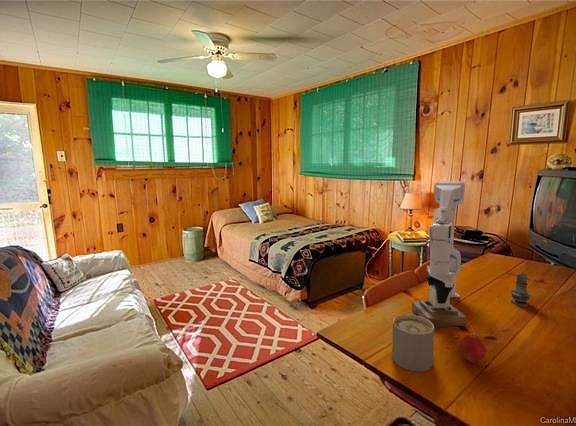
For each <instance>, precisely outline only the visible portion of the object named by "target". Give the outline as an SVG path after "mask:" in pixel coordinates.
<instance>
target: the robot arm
mask: <svg viewBox="0 0 576 426" xmlns="http://www.w3.org/2000/svg"><path fill="white" fill-rule="evenodd" d="M465 187H466V184H465V182H464V181H462V180H461V181H438V180H437V181H435V182H434V188H433V196H434V198H435V199H434V200H435V203H437V204H438V205H439V207H438V208H437V209H435V211H434V215H433V221H432V224H430V225H429V230H428V238H429V247H430V250H429V251H430V253H429V265H427V266H426V272H428V274H425V275H424V277H425V279H426V281H427V283H428V288H427V289H428V290H430V285H434V286H435V288H436V292H437V301H438V303H439V304H445V303H446V300H447V297H448V295H449V293H450V298H460V297H461V295H460V294H458V293H457V292H456V285H457V284H456V282H457V281H456V280H457V274H459V273H460V272H461V264H462V263H461V261H462V260H461V256H462V255H461V252H460V251H459V250H458V249H456V248H455V247H454V238H455V237H454V235H455V224H456V223H455V219H456V209H457V208H458V206H460V205H462V204H463V203H464V200H465V199H464V197H465Z"/></svg>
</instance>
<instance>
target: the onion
mask: <svg viewBox="0 0 576 426" xmlns="http://www.w3.org/2000/svg"><path fill="white" fill-rule="evenodd" d="M458 349H459V351H460V353H461V355H462V356H463V358H465V359H466V360H467V361H468V362H469V363H472V364H473V363H477V362H480V361H481V360H483V359H484V358H485V357H486V354H487V349H486V346H485V344H484V342H483V341H482V339H480V338H479V337H478V336H476V333H471V334H467V335H465V336H464V337H462V339H460V341H459V343H458Z"/></svg>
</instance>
